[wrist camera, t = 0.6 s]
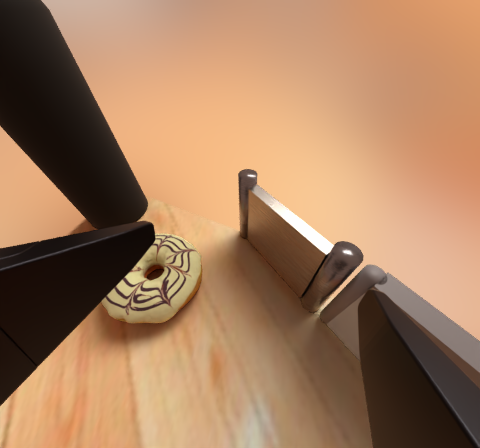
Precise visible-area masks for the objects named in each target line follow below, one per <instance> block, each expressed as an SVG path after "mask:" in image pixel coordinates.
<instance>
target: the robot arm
mask: <svg viewBox="0 0 480 448" xmlns="http://www.w3.org/2000/svg"><path fill="white" fill-rule="evenodd" d="M155 239H156V237H155V231H154V225H153V224H152V223H151V222H147V221H139V222H134V223H129V224H124V225H119V226H114V227H109V228H104V229H99V230H94V231H88V232H83V233H78V234H73V235H68V236H63V237H58V238H53V239H48V240H43V241H40V242H39V241H37V242H32V243H27V244H22V245H17V246H12V247H6V248H0V406H1V405H2V404H3V403H4V402H5V401H6V400H7V399H8V398H9V396H10V395H11V394H12V393H13V392H14V391H15V390H16V389H17V388H18V387H19V386H20V385H21V384H22V383H23V382H24V381H25V380H26V379H27V378H28V377H29V376H30V375H31V374H32V373H33V372H34V371H35V370H36V369H37V367H38V366H39V365H40V364H41V363H42V362H43V361H44V360H45V359H46V358H47V357H48V356H49V355H50V354H51V353H52V352H53V351H54V350H55V349H56V348H57V347H58V346H59V345H60V344H61V343H62V341H63V340H64V339H65V338H66V337H67V336H68V335H69V334H70V333H71V332H72V331H73V330H74V329H75V328H76V327H77V326H78V325H79V324H80V323H81V322H82V321H83V320H84V319H85V318H86V317H87V316H88V315H89V314H90V313H91V312H92V311H93V310H94V308H95V307H96V306H97V305H98V304H99V303H100V302H101V301H102V300H103V299H104V298H105V297H106V296H107V295H108V294H109V293H110V292H111V291H112V290H113V289H114V288H115V287H116V286H117V285H118V284H119V283H120V282H121V281H122V280H123V279H124V278H125V276H126V275H127V274H128V273H129V272H130V271H131V270H132V269H133V268H134V267H135V266H136V265H137V263H138V262H139V261H140V260H141V258H142V257H143V256H144V255H145V253H146V252H147V251H148V250H149V248H150V247H151V246H152V245H153V243H154V242H155ZM358 335H359V355H360V363H361V370H362V376H363V383H364V389H365V396H366V403H367V409H368V416H369V422H370V429H371V436H372V442H373V448H480V388H479V387H478V386H477V385H476V384H475V383H474V382H473V381H472V380H471V379H470V378H469V377H468V376H467V375H466V374H465V373H464V372H463V371H462V370H461V369H460V368H459V367H458V366H457V365H456V364H455V363H454V362H453V361H452V360H451V359H450V358H449V357H448V356H447V355H446V354H445V353H444V352H443V351H442V350H441V349H440V348H439V347H438V346H437V345H436V344H435V343H434V342H433V341H432V340H431V339H430V338H429V337H428V336H427V335H426V334H425V333H424V332H423V331H422V330H421V329H420V328H419V327H418V326H417V325H416V324H415V323H414V322H413V321H412V320H411V319H410V318H409V317H408V316H407V315H406V314H405V313H404V312H403V311H402V310H401V309H400V308H399V307H398V306H397V305H396V304H395V303H394V302H393V301H392V300H391V299H390V298H389V297H388V296H387V295H386V294H385V293H384V292H381V291H378V290H375V289H369V290H367V292H366V293H365V295H364V296H363V298H362V299H361V301H360V303H359V305H358Z"/></svg>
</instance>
